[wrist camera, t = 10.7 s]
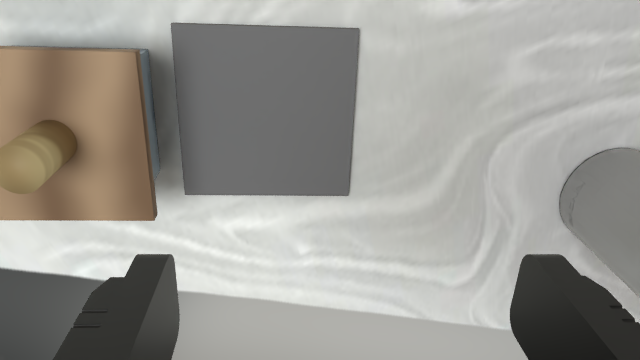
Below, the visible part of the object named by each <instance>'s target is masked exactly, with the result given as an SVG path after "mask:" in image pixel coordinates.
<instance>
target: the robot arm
mask: <svg viewBox="0 0 640 360" xmlns="http://www.w3.org/2000/svg"><path fill="white" fill-rule="evenodd" d="M560 214H561V216H562V219H563V222H564V223H565V224H566V226H567V227H568V228H569V229H570V230H571V231H572V232H573V233H574V234H575V235H576V236H577V237H578V238H579V239H580V240H581V241H582V242H583V243H584V244H585V245H586V246H587V247H588V248H589V249H590V250H591V251H592V252H593V253H594V254H595V255H596V256H597V257H598V258H599V259H600V260H601V261H602V262H603V263H604V264H605V265H606V266H607V267H608V268H610V269H611V270H612V271H613V272H614V273H615V274H616V275H617V276H618V277H619V278H620V279H621V280H622V281H623V282H624V283H625V284H626V285H627V286H628V287H629V288H630V289H631V290H632V291H633V292H634V293H635V294H636V295H637V296H638V297H639V298H640V151H638V150H634V149H630V148H617V149H612V150H607V151H604V152H602V153H599V154H597V155H595V156H593V157H591V158H590V159H588V160H586V161H585V162H584V163H583V164H581V165H580V166H579V167H578V168H577V169H576V170H575V171H574V172H573V174H572V175H571V176H570V177H569V179H568V181H567V182H566V184H565V186H564V188H563V191H562V194H561V198H560ZM510 323H511V328H512V331H513V334H514V336H515V338H516V339H517V341H518V342H519V344H520V346H521V348H522V349H523V351H524V353H525V354H526V356H527V357H528V360H640V324H639V323H638V322H635V319H634V317H633V316H632V315H631V314H630V313H629V312H628V311H627V310H626V309H622V305H621V304H620V303H619V302H618V301H617V300H616V299H615V298H614V297H613V296H612V294H611V293H610V292H609V291H608V290H607V289H605V288H604V287H602V286H600V285H599V284H597V283H596V282H594V281H592V280H591V279H589V278H588V277H586V276H581V275H580V274H579V273H578V272H577V270H576V269H575V268H574V267H573V266H572V265H571V264H570V263H569V262H568V261H567V260H566V258H564V257H563V256H562V255H559V254H529V255H526V256H525V257H524V258H523V259H522V262H521V265H520V269H519V274H518V278H517V282H516V286H515V291H514V295H513V299H512V303H511V308H510ZM178 331H179V303H178V293H177V282H176V272H175V263H174V258H173V256H172V255H171V254H138V255H136V256H135V258H134V260H133V262H132V264H131V266H130V268H129V270H128V272H127V274H126V276H125V277H110V278H109V279H108V280H107V281H105V282H104V283H103V284H102V285H100V286H99V287H98V288H97V289H96V290H94V291H93V292H92V293H91V295H90V297H89V298H88V300H87V302H86V304H85V305H84V307H83V309H82V313H80V314H79V316H78V317H77V319H76V321H75V323H74V327H73V328H71V330H70V332H69V333H68V335H67V336H66V338H65V340H64V342H63V343H62V345H61V347H60V349H59V350H58V352H57V354H56V355H55V357H54V359H53V360H171V358H172V355H173V352H174V348H175V344H176V341H177V336H178Z"/></svg>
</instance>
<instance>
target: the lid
mask: <svg viewBox="0 0 640 360" xmlns="http://www.w3.org/2000/svg"><path fill="white" fill-rule="evenodd" d="M156 216H157V205H156V196H155V187H154V178H153V169H152V160H151V150H150V141H149V132H148V123H147V114H146V105H145V95H144V86H143V77H142V68H141V59H140V50H135V49H97V48H58V47H19V46H0V220H115V221H154V220H155V218H156Z"/></svg>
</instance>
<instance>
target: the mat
mask: <svg viewBox="0 0 640 360" xmlns="http://www.w3.org/2000/svg"><path fill="white" fill-rule="evenodd" d="M171 33H172V45H173V57H174V69H175V81H176V94H177V106H178V118H179V130H180V142H181V154H182V166H183V178H184V190H185V195H298V196H348V193H349V178H350V163H351V147H352V132H353V117H354V101H355V86H356V71H357V55H358V40H359V29H358V28H334V27H299V26H265V25H231V24H197V23H171Z"/></svg>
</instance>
